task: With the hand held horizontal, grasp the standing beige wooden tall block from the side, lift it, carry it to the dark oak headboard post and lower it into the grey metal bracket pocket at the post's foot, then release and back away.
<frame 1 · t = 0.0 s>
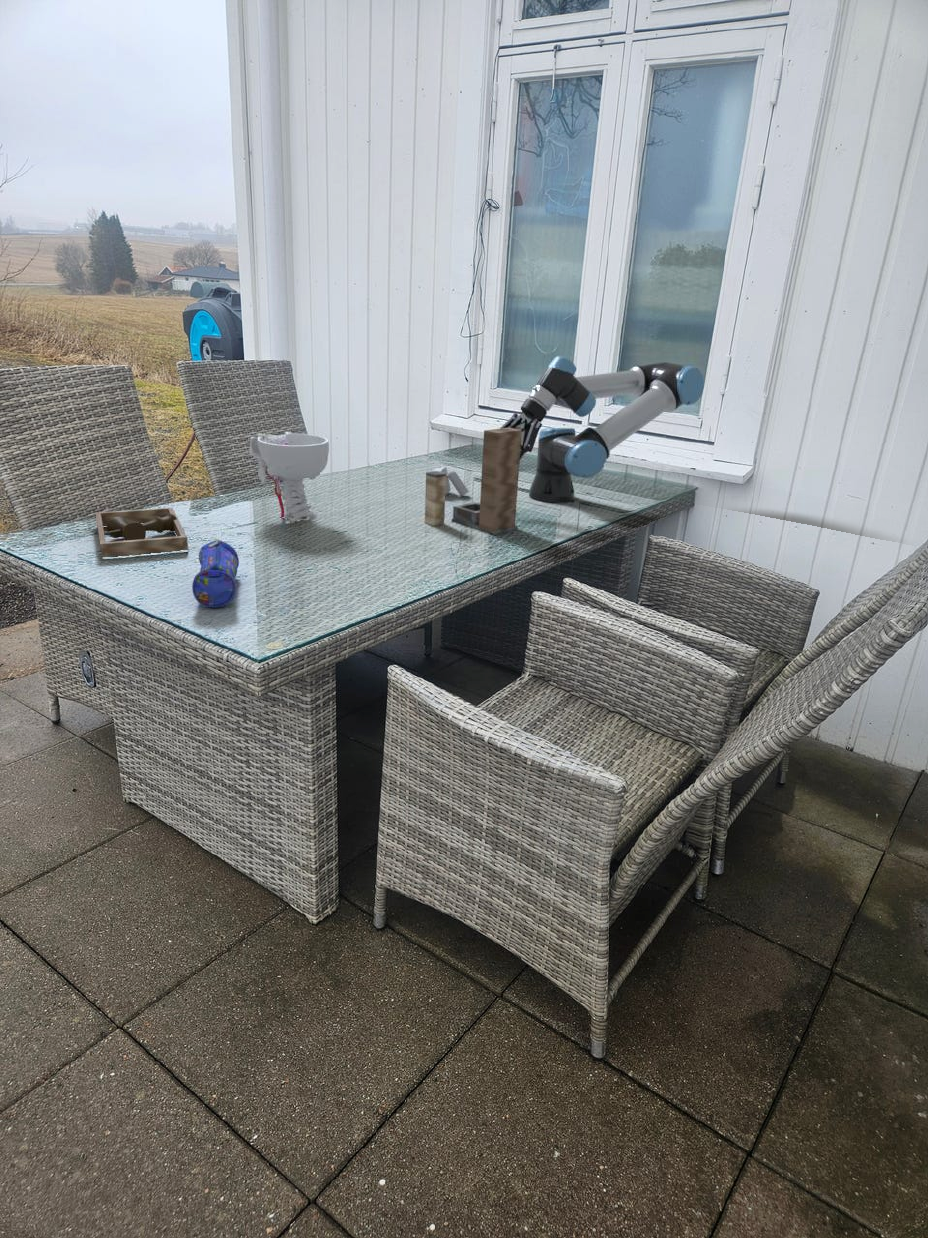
hand: (497, 464, 233), 15 cm above the table, tool tilted 35°, fingers open, 13 cm apart
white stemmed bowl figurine: (290, 518, 224), on the table
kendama: (140, 539, 200), resting in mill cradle
pencil case: (218, 593, 169), on the table
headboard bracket: (474, 521, 229), on the table
beige wooden tall block: (434, 523, 226), on the table
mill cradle: (141, 539, 200), on the table
wall hook: (450, 495, 259), on the table
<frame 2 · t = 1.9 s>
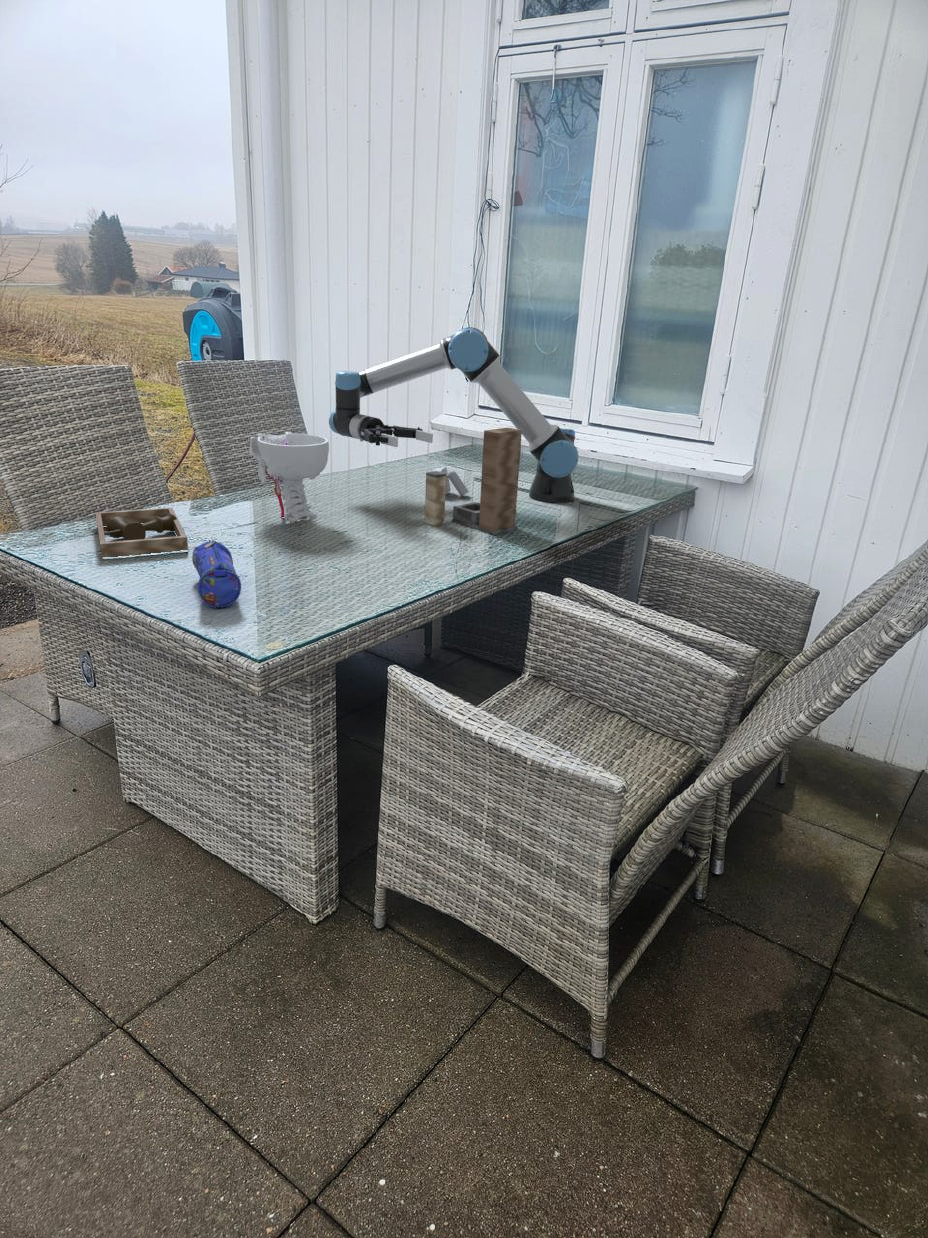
hand: (414, 440, 223), 23 cm above the table, tool horizontal, fingers open, 13 cm apart
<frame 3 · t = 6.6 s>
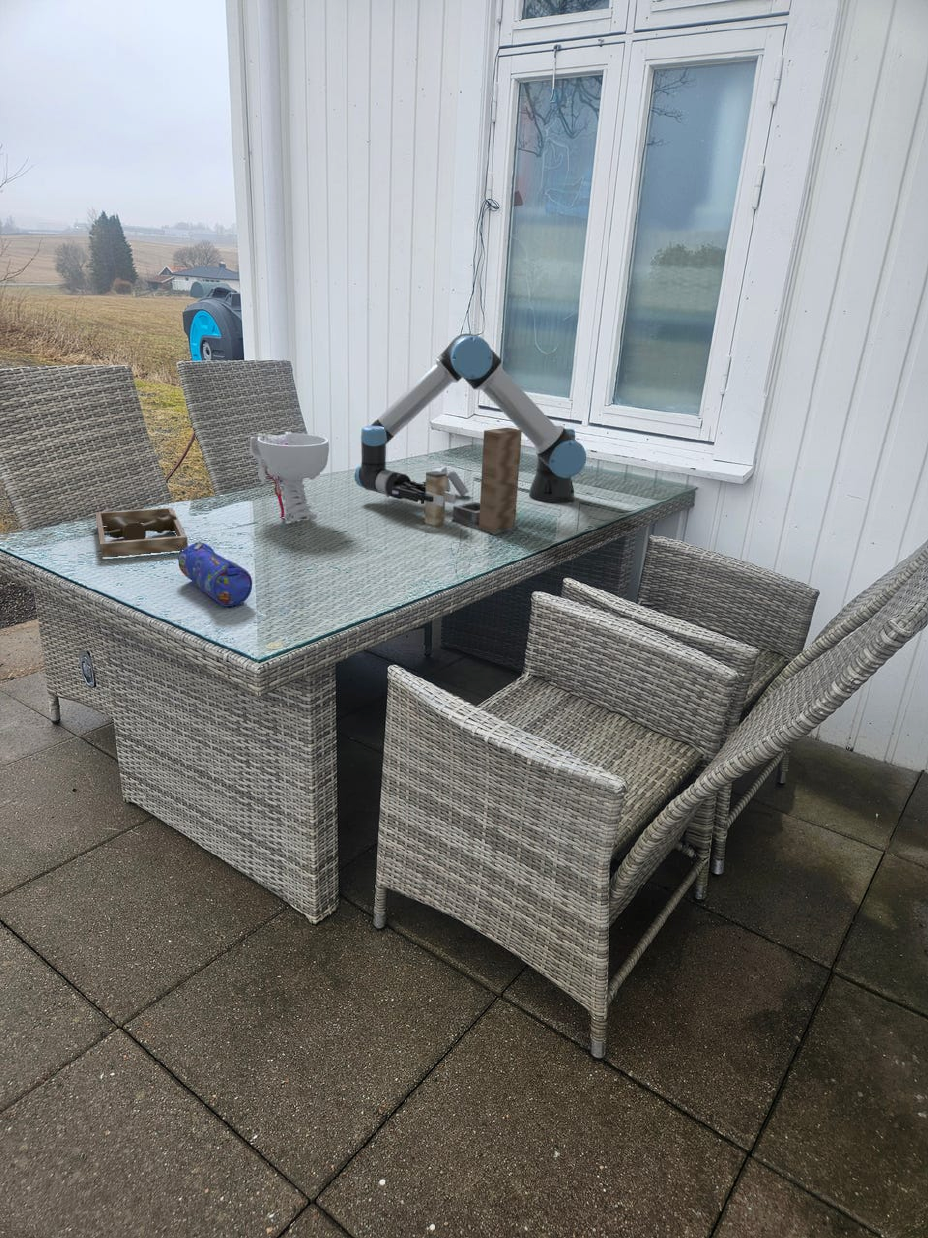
hand: (448, 500, 219), 8 cm above the table, tool horizontal, fingers closed on beige wooden tall block, 4 cm apart
beige wooden tall block: (434, 523, 226), on the table, touching gripper
when the fingers open (10 cm above the table, at t = 10.7 s): beige wooden tall block drops 1 cm, resting on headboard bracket.
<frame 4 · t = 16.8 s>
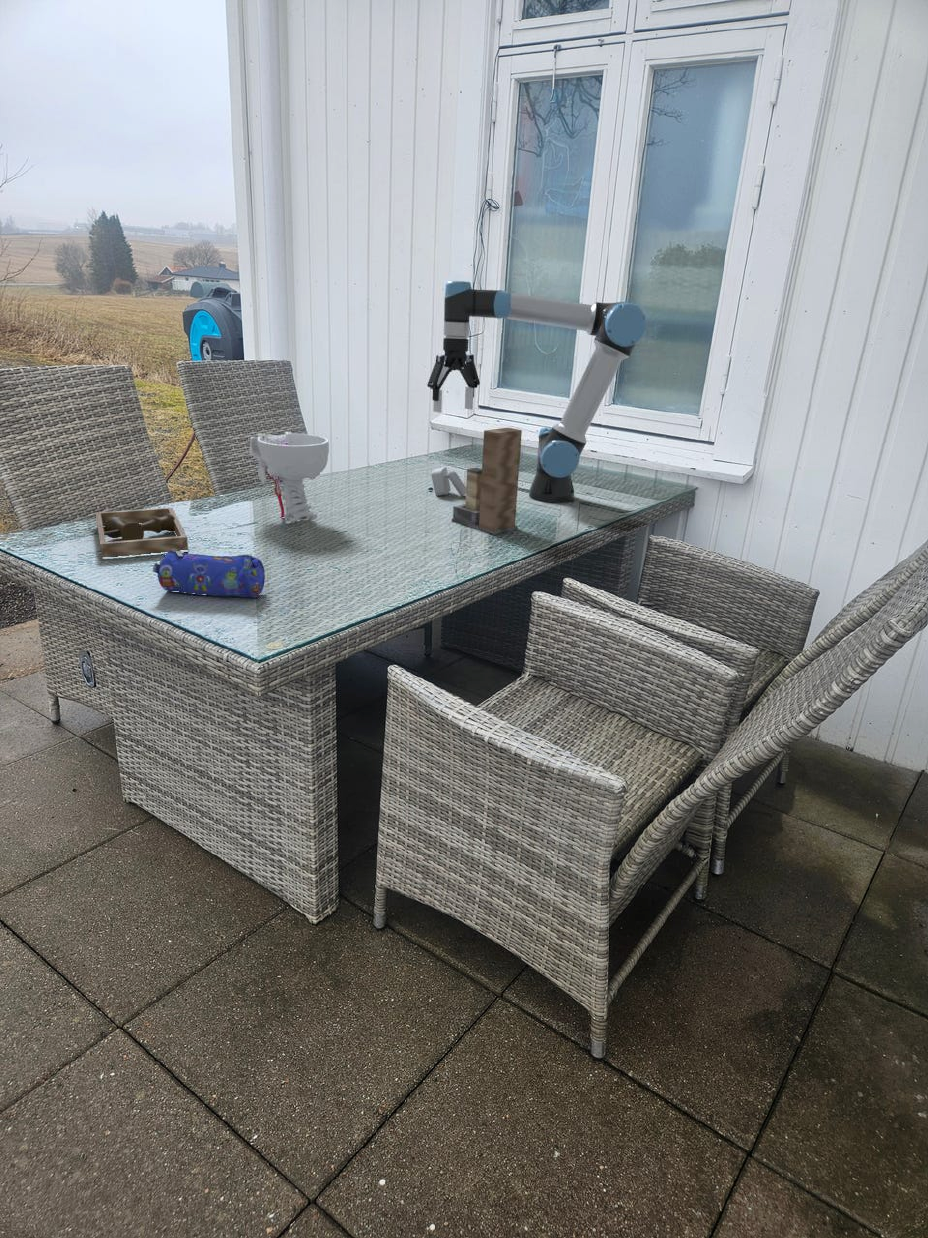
hand: (453, 410, 239), 29 cm above the table, tool pointing down, fingers open, 13 cm apart
beige wooden tall block: (474, 519, 229), point 1 cm above the table, touching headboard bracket
at the end: beige wooden tall block 0.0 cm off-centre on the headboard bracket, point 0.8 cm above the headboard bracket's base; beige wooden tall block tilted 0°; the gripper is holding nothing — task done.
